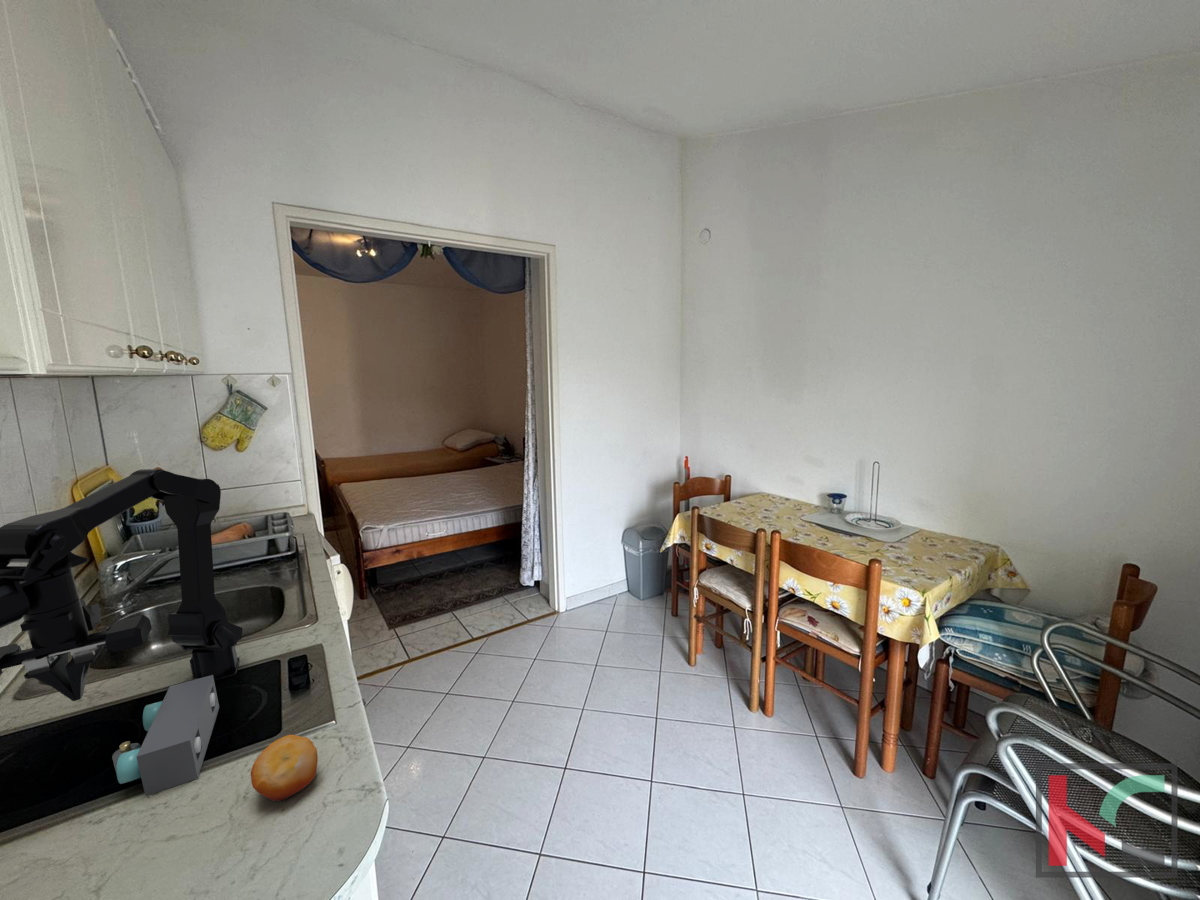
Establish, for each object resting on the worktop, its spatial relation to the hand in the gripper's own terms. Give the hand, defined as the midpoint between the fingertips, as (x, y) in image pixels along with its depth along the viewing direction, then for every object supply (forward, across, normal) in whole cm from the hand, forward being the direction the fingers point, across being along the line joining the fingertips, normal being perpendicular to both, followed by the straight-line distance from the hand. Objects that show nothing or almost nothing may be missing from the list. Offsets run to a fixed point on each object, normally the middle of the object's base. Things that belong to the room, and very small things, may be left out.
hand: (78, 698), depth 76 cm
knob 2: (+10, -10, +9) cm, 17 cm away
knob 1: (+10, -10, -3) cm, 15 cm away
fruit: (+12, -26, +22) cm, 36 cm away
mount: (+12, -12, +3) cm, 17 cm away
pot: (+12, -5, +3) cm, 13 cm away
